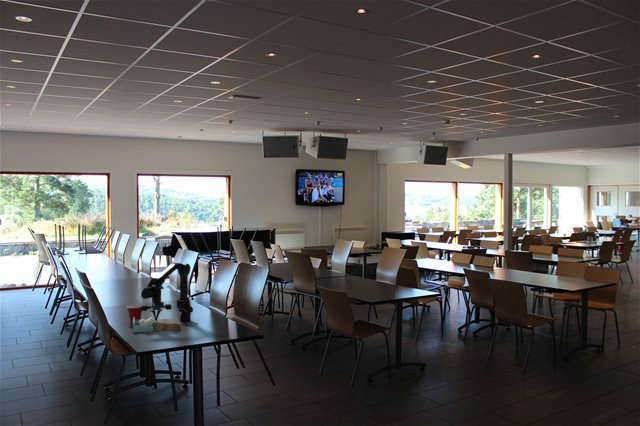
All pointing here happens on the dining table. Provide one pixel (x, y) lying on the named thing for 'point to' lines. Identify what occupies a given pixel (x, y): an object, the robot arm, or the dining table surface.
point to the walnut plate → (166, 324)
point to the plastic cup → (134, 312)
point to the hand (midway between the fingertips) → (156, 320)
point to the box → (141, 327)
